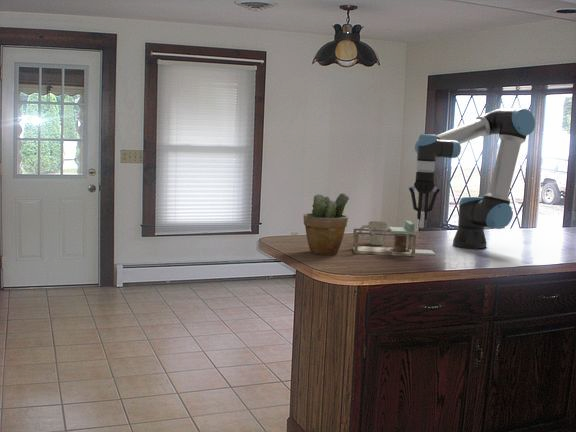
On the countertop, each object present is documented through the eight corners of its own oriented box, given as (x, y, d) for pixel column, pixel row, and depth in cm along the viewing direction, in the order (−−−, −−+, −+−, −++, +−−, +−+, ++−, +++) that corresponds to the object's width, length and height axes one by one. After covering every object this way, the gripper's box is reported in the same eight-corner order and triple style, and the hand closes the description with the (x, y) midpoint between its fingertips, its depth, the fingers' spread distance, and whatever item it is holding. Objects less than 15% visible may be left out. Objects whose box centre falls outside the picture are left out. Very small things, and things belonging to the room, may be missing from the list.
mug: (385, 246, 310) (386, 224, 309) (357, 244, 312) (358, 222, 311) (386, 243, 318) (387, 222, 317) (359, 241, 320) (360, 220, 319)
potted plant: (315, 257, 273) (318, 194, 270) (293, 249, 289) (296, 190, 286) (354, 255, 282) (357, 194, 279) (330, 248, 298) (334, 190, 295)
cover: (409, 230, 298) (409, 220, 298) (414, 234, 286) (414, 224, 285) (388, 229, 298) (389, 219, 298) (392, 233, 286) (392, 223, 285)
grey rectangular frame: (410, 251, 299) (411, 231, 298) (414, 256, 287) (416, 235, 286) (352, 248, 299) (353, 228, 298) (354, 253, 287) (355, 232, 286)
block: (404, 252, 295) (405, 234, 294) (405, 254, 291) (406, 235, 290) (393, 252, 295) (394, 233, 294) (394, 253, 291) (396, 235, 290)
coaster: (431, 251, 301) (431, 250, 301) (435, 255, 292) (435, 253, 292) (410, 250, 301) (410, 249, 301) (413, 254, 292) (414, 252, 292)
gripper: (439, 171, 292) (435, 226, 295) (408, 170, 292) (404, 225, 295) (442, 172, 285) (438, 229, 288) (411, 171, 285) (407, 227, 288)
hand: (421, 227), depth 291 cm, fingers closed
